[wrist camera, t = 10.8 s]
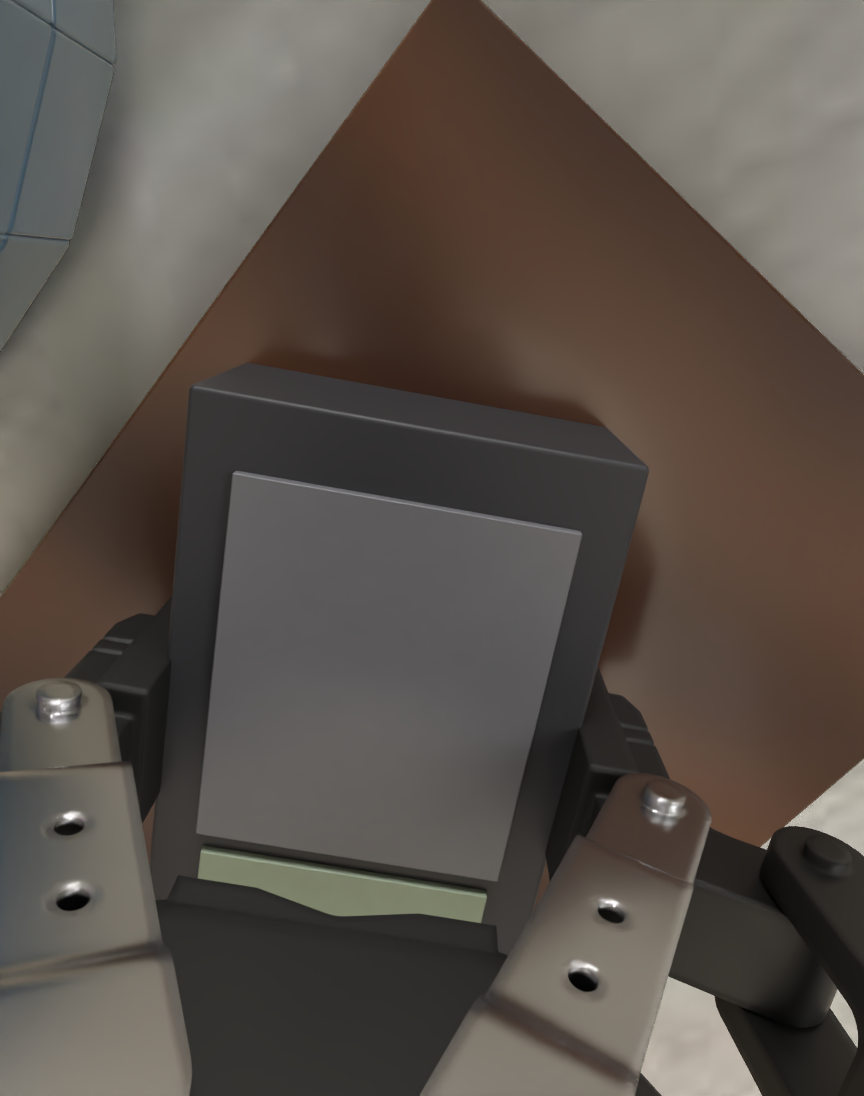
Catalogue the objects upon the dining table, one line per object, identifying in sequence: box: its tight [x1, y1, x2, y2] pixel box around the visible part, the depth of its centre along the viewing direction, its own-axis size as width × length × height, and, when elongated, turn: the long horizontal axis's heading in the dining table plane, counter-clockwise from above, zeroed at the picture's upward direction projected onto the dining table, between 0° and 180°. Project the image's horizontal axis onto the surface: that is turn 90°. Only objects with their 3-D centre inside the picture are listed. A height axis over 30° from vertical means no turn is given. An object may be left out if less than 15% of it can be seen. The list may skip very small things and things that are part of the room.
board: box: [0, 0, 864, 911], centre depth 16 cm, size 20×14×2 cm
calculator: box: [150, 363, 649, 955], centre depth 13 cm, size 10×6×3 cm, turn 170°
